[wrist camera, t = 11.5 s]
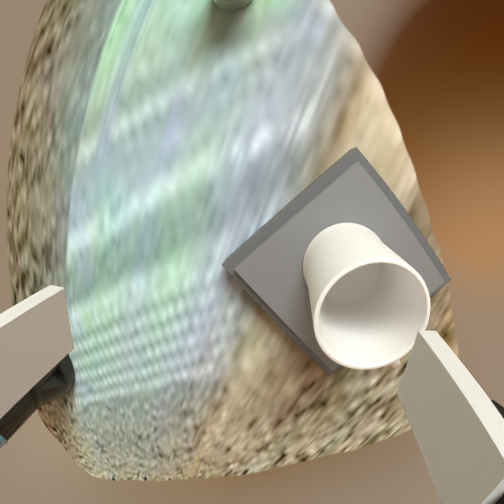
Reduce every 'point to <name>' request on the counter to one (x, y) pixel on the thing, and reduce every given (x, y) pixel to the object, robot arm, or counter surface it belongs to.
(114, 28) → the counter surface
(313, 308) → the mug
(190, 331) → the counter surface
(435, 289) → the podium
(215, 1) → the spice tin
